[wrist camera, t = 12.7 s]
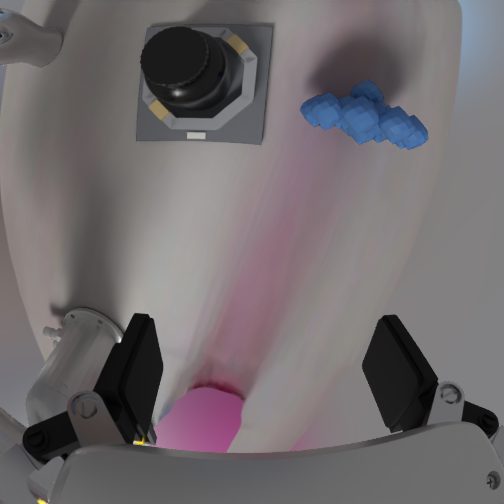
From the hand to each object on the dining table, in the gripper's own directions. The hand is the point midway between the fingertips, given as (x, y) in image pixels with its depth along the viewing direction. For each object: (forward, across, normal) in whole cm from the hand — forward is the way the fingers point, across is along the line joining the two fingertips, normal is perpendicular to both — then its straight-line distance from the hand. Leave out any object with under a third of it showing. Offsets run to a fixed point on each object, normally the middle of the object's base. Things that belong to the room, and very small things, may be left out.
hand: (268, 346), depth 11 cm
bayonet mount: (+23, +6, -14) cm, 28 cm away
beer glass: (+24, +28, -23) cm, 44 cm away
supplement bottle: (+23, +6, -14) cm, 27 cm away
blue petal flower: (+23, -10, -11) cm, 28 cm away
